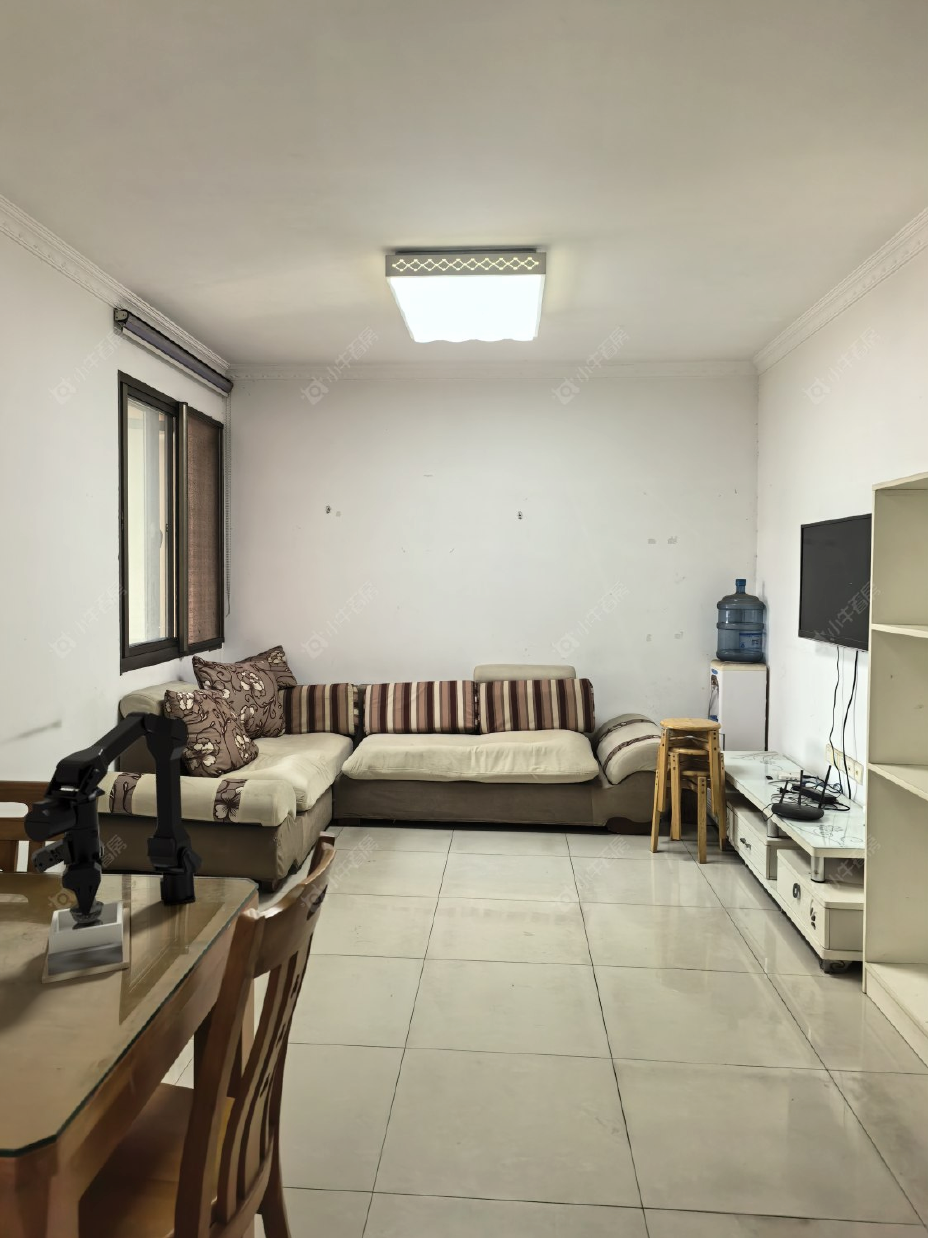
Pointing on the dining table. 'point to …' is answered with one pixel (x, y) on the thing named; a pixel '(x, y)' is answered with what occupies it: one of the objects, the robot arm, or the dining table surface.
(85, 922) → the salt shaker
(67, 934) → the white tray
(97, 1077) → the dining table surface
